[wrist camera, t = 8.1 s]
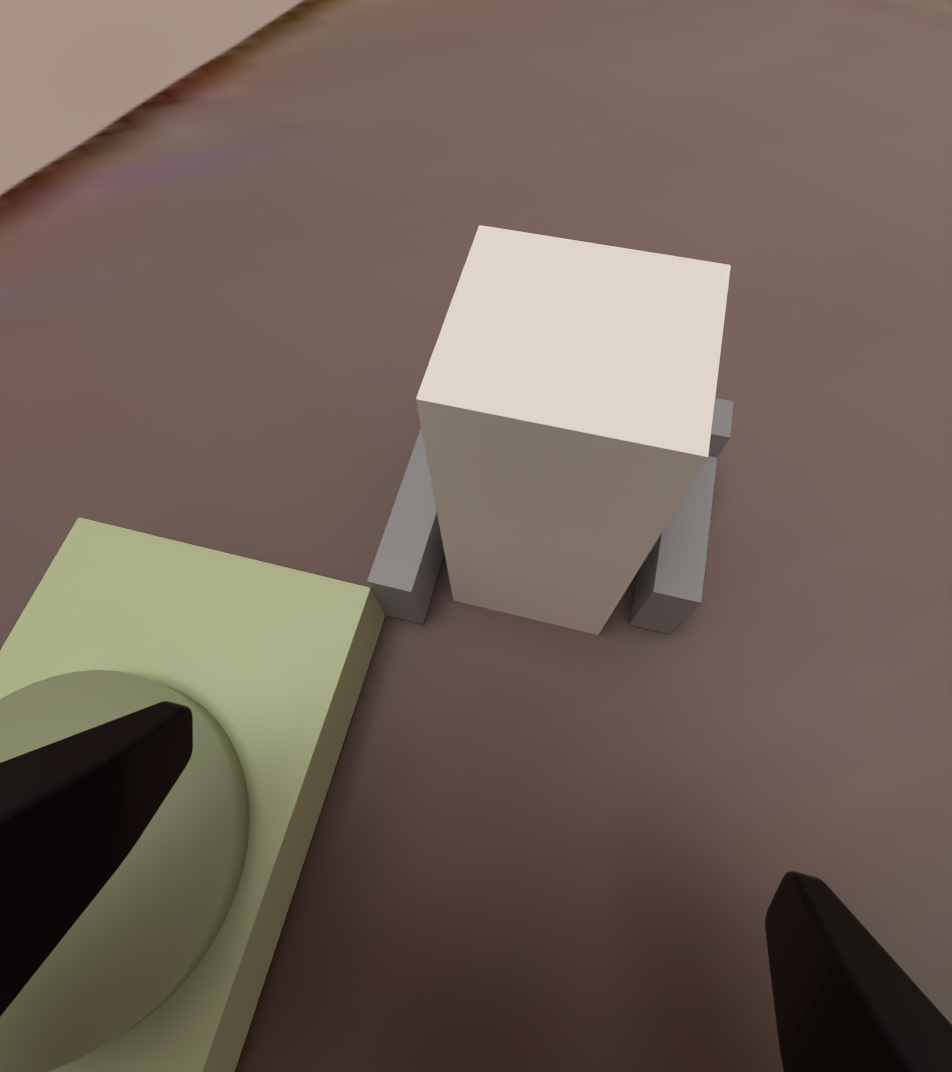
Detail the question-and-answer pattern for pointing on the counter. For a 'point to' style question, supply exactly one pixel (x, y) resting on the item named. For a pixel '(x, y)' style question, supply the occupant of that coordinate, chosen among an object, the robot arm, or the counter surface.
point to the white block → (567, 418)
